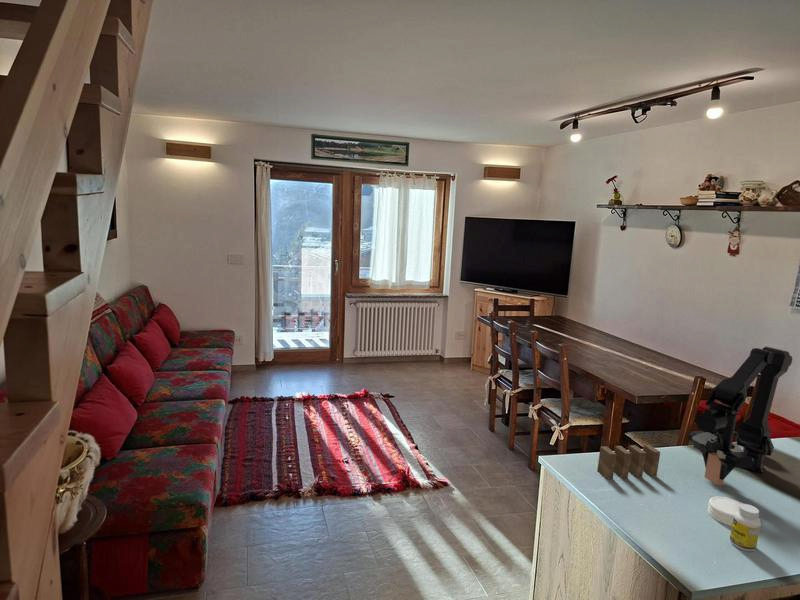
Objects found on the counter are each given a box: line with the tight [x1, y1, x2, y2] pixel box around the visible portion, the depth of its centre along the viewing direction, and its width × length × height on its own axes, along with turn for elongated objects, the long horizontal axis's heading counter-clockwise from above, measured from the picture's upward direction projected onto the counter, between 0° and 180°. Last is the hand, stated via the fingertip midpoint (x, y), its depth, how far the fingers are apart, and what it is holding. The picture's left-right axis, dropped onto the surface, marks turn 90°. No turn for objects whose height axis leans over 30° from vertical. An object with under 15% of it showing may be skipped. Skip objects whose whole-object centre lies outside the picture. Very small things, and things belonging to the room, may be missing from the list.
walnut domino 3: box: [628, 444, 646, 478], centre depth 156 cm, size 2×5×8 cm, turn 12°
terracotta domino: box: [704, 452, 725, 486], centre depth 154 cm, size 2×5×8 cm, turn 12°
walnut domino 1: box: [596, 445, 616, 480], centre depth 154 cm, size 2×5×8 cm, turn 12°
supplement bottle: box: [729, 503, 762, 552], centre depth 123 cm, size 5×5×10 cm
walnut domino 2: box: [613, 445, 631, 479], centre depth 155 cm, size 2×5×8 cm, turn 12°
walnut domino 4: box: [642, 444, 661, 478], centre depth 157 cm, size 2×5×8 cm, turn 12°
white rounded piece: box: [707, 496, 744, 528], centre depth 135 cm, size 10×10×4 cm
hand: (714, 474), depth 155 cm, fingers closed on terracotta domino, 5 cm apart
